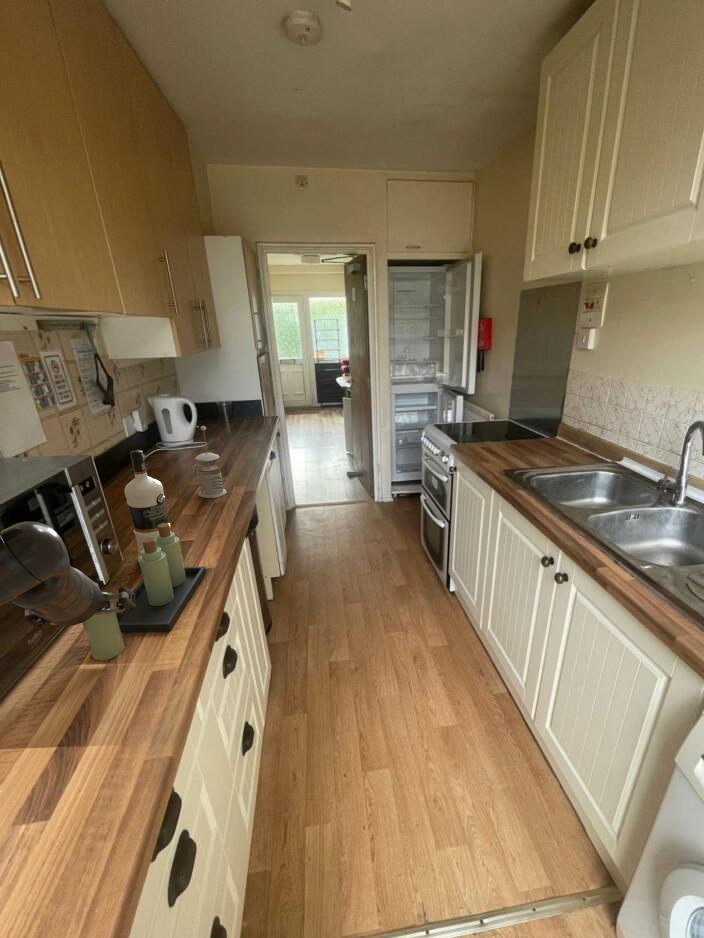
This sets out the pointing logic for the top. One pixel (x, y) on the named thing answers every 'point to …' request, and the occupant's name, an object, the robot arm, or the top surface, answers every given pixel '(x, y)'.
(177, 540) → the bottle back
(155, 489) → the vodka
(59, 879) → the top surface
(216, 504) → the top surface
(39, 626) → the robot arm
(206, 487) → the french press
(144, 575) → the bottle mid
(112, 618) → the bottle loose
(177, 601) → the tray
